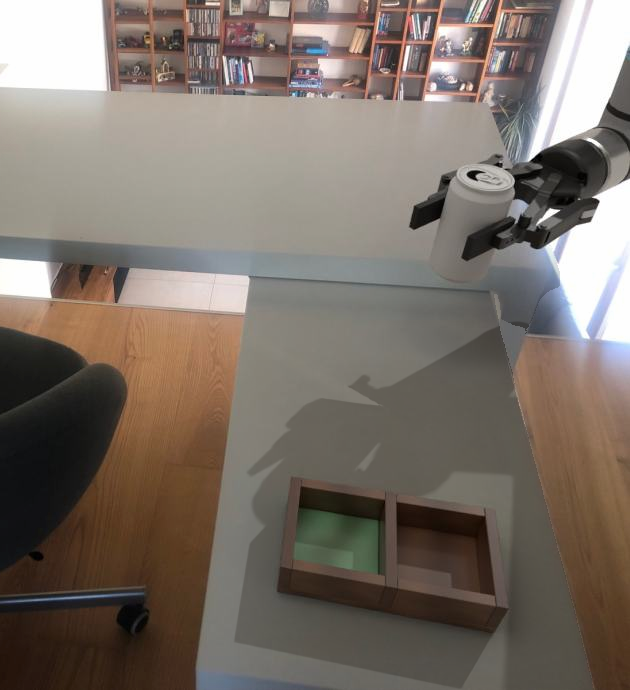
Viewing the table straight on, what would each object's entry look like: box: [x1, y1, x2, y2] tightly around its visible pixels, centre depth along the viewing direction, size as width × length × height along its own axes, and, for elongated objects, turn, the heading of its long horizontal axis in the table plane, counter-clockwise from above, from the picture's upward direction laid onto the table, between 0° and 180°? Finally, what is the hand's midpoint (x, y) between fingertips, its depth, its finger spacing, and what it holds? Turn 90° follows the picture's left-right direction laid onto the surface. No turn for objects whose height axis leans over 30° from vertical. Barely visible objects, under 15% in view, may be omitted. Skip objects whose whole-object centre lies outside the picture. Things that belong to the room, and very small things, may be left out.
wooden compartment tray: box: [276, 476, 510, 634], centre depth 63 cm, size 19×10×4 cm, turn 77°
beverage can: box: [428, 163, 515, 284], centre depth 75 cm, size 6×6×12 cm
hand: (440, 232), depth 73 cm, fingers closed on beverage can, 6 cm apart
